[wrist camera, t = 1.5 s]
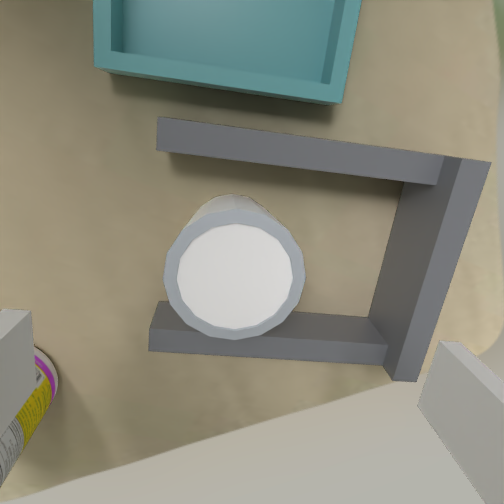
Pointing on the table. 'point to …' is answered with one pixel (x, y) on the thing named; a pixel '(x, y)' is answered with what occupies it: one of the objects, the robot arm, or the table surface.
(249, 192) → the table surface
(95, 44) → the tray
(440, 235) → the bay
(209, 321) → the shot glass
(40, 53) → the table surface
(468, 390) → the robot arm
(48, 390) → the supplement bottle
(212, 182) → the table surface
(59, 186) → the table surface
